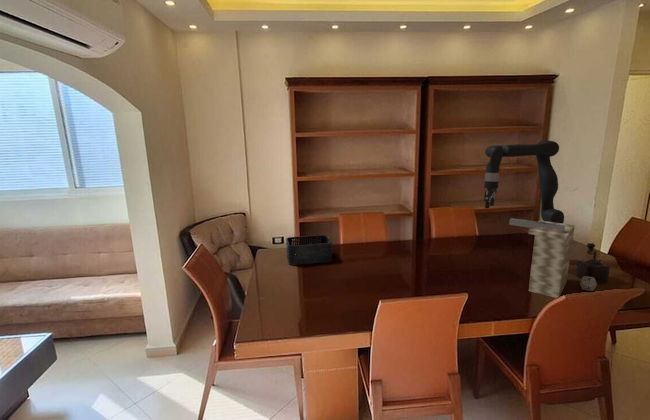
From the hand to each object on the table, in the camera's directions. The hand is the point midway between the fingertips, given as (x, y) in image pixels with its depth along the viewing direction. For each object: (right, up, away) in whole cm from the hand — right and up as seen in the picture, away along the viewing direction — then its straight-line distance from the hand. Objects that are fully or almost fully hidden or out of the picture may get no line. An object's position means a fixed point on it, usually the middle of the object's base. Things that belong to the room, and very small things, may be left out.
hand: (489, 206), depth 208 cm
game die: (+35, -43, -30) cm, 64 cm away
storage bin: (-109, -35, +24) cm, 117 cm away
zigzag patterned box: (+18, -42, -24) cm, 52 cm away
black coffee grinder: (+48, -40, -15) cm, 64 cm away
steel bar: (+9, -11, -32) cm, 34 cm away
